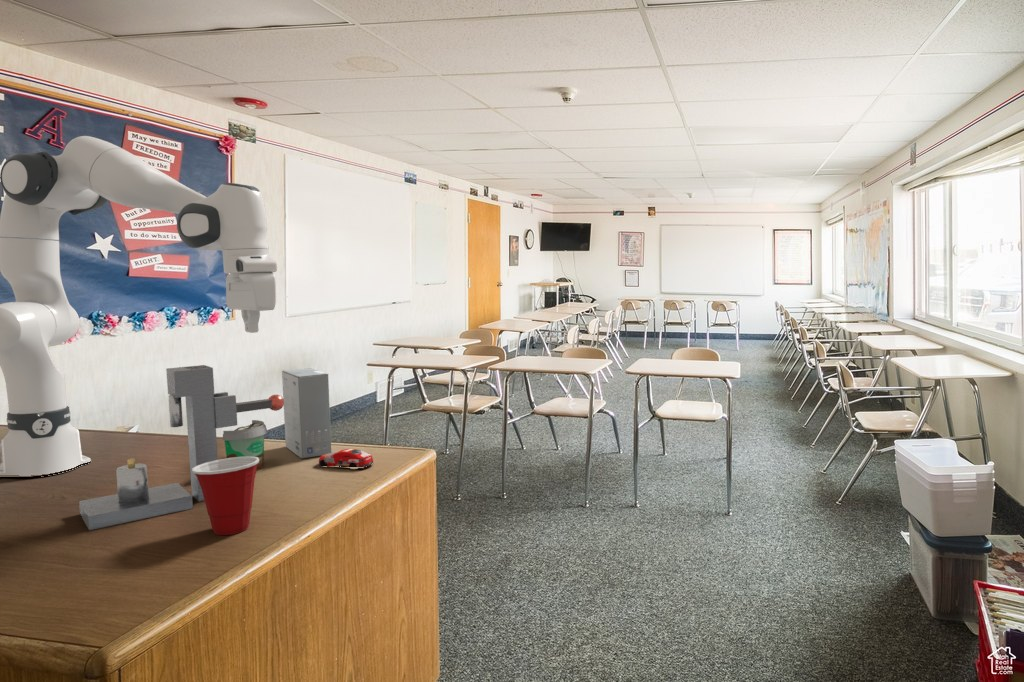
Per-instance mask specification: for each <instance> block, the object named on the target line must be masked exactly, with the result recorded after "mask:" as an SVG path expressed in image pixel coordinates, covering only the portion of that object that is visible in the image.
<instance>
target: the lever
mask: <svg viewBox="0 0 1024 682" xmlns="http://www.w3.org/2000/svg"><path fill="white" fill-rule="evenodd" d="M282 408H284V399H283V396H282V395H279V394H272V395H270V396H269V397H268V398H264V399H258V400H257V399H256V400H251V401H249V400H248V401H243V402H242V401H241V402H240V401H239V402H236V409H237V414H239V413H244V412H250V411H252V412H253V411H258V410H267V409H269V410H271V411H274V412H275V411H276V412H277V411H280V410H282Z"/></svg>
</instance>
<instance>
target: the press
mask: <svg viewBox="0 0 1024 682" xmlns="http://www.w3.org/2000/svg"><path fill="white" fill-rule="evenodd" d="M165 371H166V384H167V395H168V398H167V399H168V409H169V410H168V412H169V425H170V426H169V427H170V428H179V427H183V426H184V420H183V419H184V418H183V407H182V405H183V404H182V398H183V397H184V398H185V411H186V412H185V413H186V427H187V440H188V456H189V472H190V488H191V493H190V492H188V490H186V489H185V488H184V487H183V486H182V485H180V483H179V482H174V483H168V484H162V485H158V486H157V485H156V486H152V487H148V492H149V497H148V498H147V499H145V500H142V501H138V502H132V503H121V502H119V500H118V493H115V494H109V495H105V496H100V497H99V496H98V497H93V498H90V499H84V500H79V501H78V504H79V505H78V506H79V515H80V514H81V515H80V517H81V516H82V517H81V518H82V520H83V522H84V523H85V525H86V528H87V529H88V530H89V531H94V530H98V529H103V528H106V527H112V526H117V525H120V524H121V525H122V524H125V523H130V522H131V523H132V522H137V521H139V520H144V519H150V518H153V517H159V516H163V515H168V514H173V513H179V512H183V511H187V510H191V509H193V508H194V505H193V498H194V499H195V500H196V501H197V502H205V500H204V496H203V493H202V489H201V486H200V483H199V481H198V478H197V477H196V475H195V473H193V471H192V468H194V467H196V466H198V465H201V464H204V463H207V462H211V461H215V460H219V457H218V441H217V429H221V428H228V427H235V426H238V413H237V409H236V403H237V397H236V394H235V395H234V394H231V395H229V393H228V391H223V392H216V393H215V379H214V368H213V367H211V366H209V365H205V364H201V365H190V366H189V365H188V366H179V367H170V368H165Z"/></svg>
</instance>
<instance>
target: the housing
mask: <svg viewBox="0 0 1024 682" xmlns="http://www.w3.org/2000/svg"><path fill="white" fill-rule="evenodd" d="M135 461H136V460H135V458H128V459H127V464H125V465H122V466H118V467H116V482H117V483H116V485H117V494H118V500H119V502H121V503H132V502H138V501H142V500H145V499H147V498H148V497H149V492H148V488H149V480H148V469H147V468H148V466H147V464H145V463H136V462H135Z"/></svg>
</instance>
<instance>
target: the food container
mask: <svg viewBox="0 0 1024 682" xmlns="http://www.w3.org/2000/svg"><path fill="white" fill-rule="evenodd" d="M222 432H223V433H222V441H224V447H225V455H226V456H225V457H226V458H234V457H258V458H259V462H258V465H257V467H256V472H257V471H258V470H259V471H260V470H262V469H263V468H264V462H265V461H264V458H265V435H266V434H267V433H268V428H267V426H266V424H265V422H264V421H262V420H258V419H252V420H251V424H249V425H246V426H239V427H237V428H236V429H233V430H223V431H222Z"/></svg>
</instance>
